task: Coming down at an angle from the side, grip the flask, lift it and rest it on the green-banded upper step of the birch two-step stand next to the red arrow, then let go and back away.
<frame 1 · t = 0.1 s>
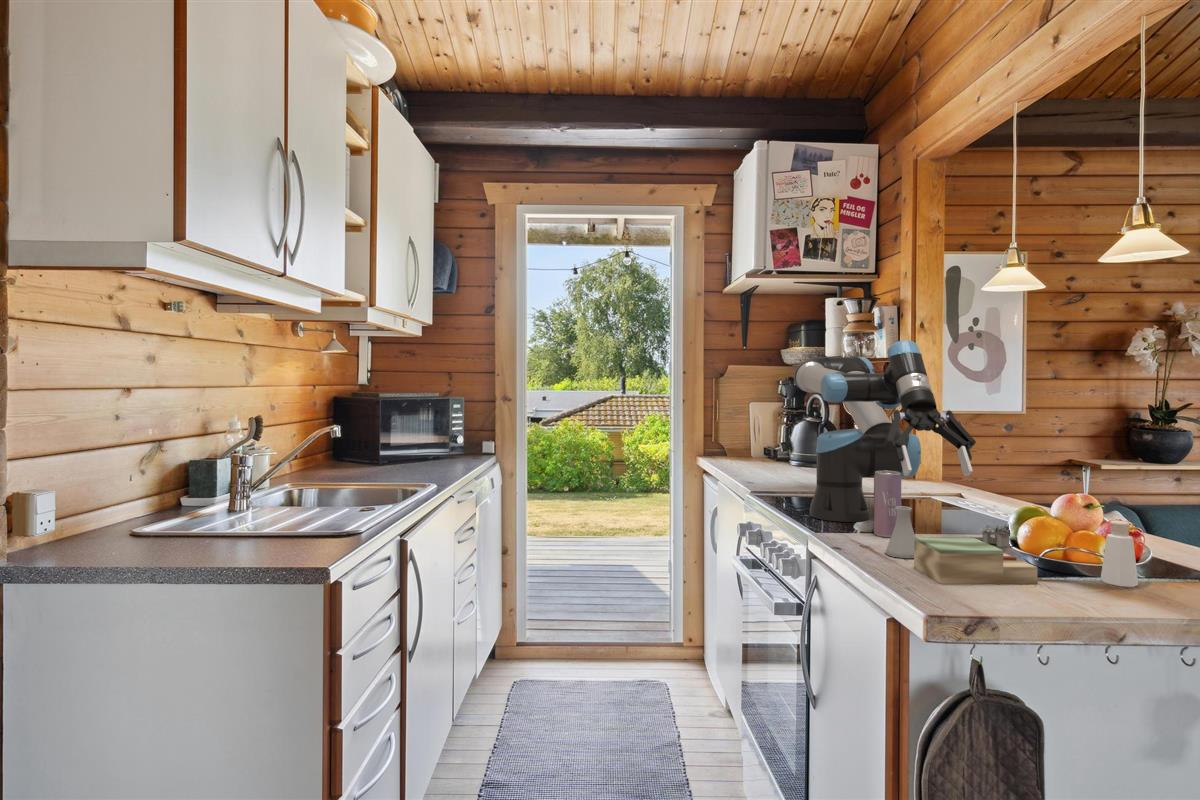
hand: (938, 473, 157), 15 cm above the countertop, tool tilted 35°, fingers open, 13 cm apart
flask: (903, 556, 145), on the countertop
egg carton: (1007, 544, 156), on the countertop
salt shaker 2: (1119, 584, 124), on the countertop
beverage can: (887, 536, 164), on the countertop
stand: (973, 575, 129), on the countertop
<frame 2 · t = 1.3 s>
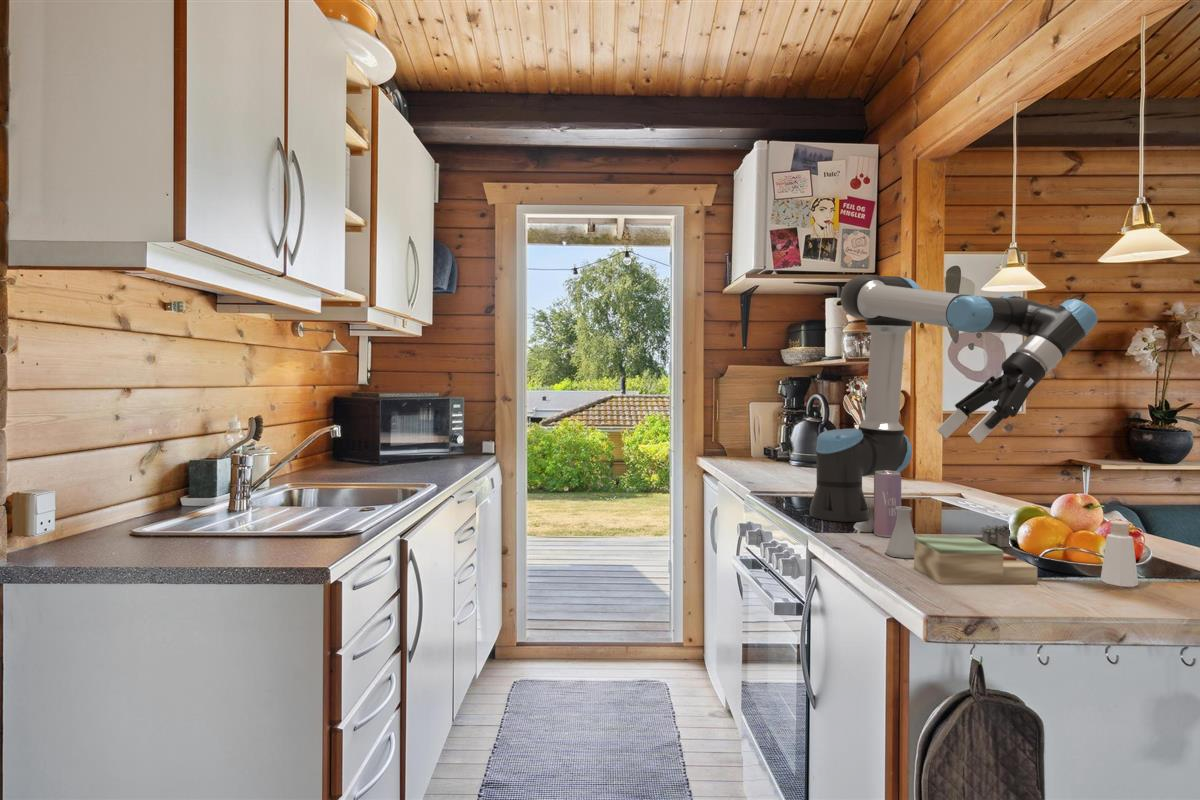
hand: (956, 436, 144), 25 cm above the countertop, tool tilted 45°, fingers open, 13 cm apart
nothing on the countertop moved.
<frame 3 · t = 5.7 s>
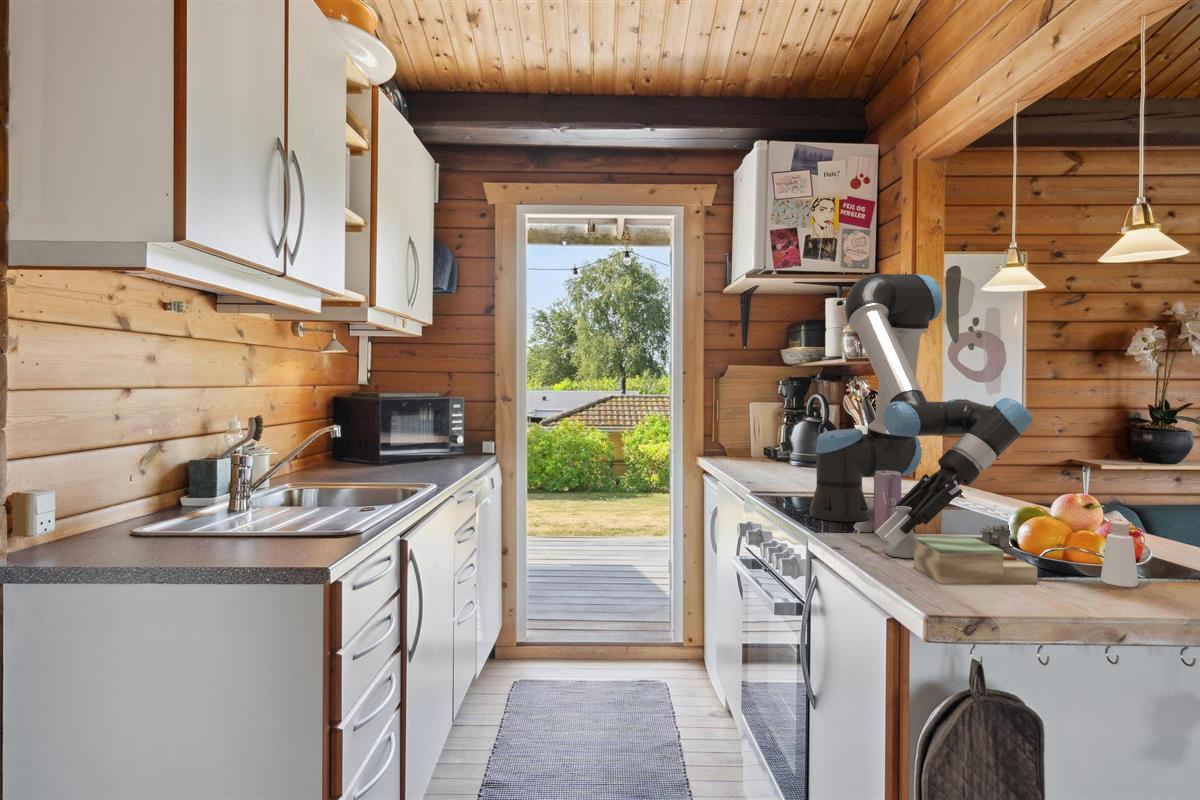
hand: (884, 539, 145), 3 cm above the countertop, tool tilted 45°, fingers closed on flask, 4 cm apart
flask: (903, 556, 145), on the countertop, touching gripper
everything else where it was.
when the fingers open (11 cm above the countertop, at t = 9.3 s): flask drops 1 cm, resting on stand.
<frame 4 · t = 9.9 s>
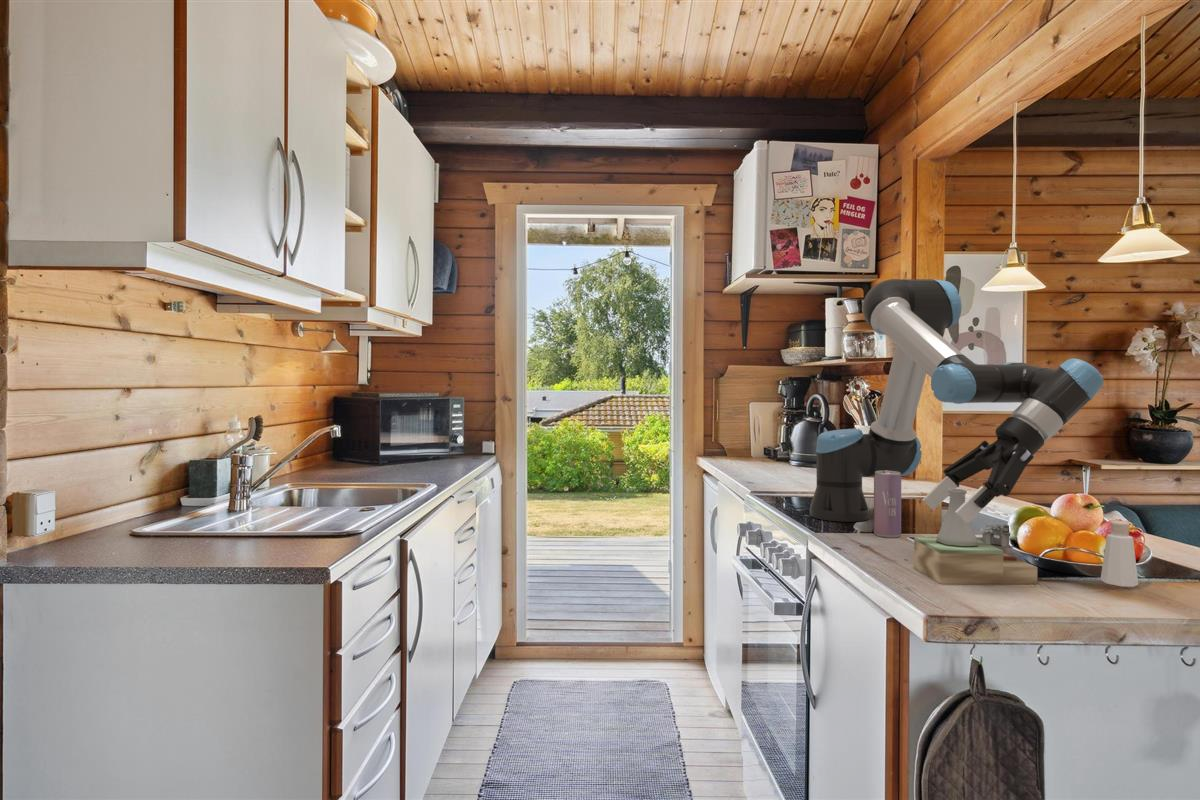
hand: (943, 510, 129), 12 cm above the countertop, tool tilted 45°, fingers open, 12 cm apart
flask: (957, 544, 129), point 6 cm above the countertop, touching stand
everything else where it was.
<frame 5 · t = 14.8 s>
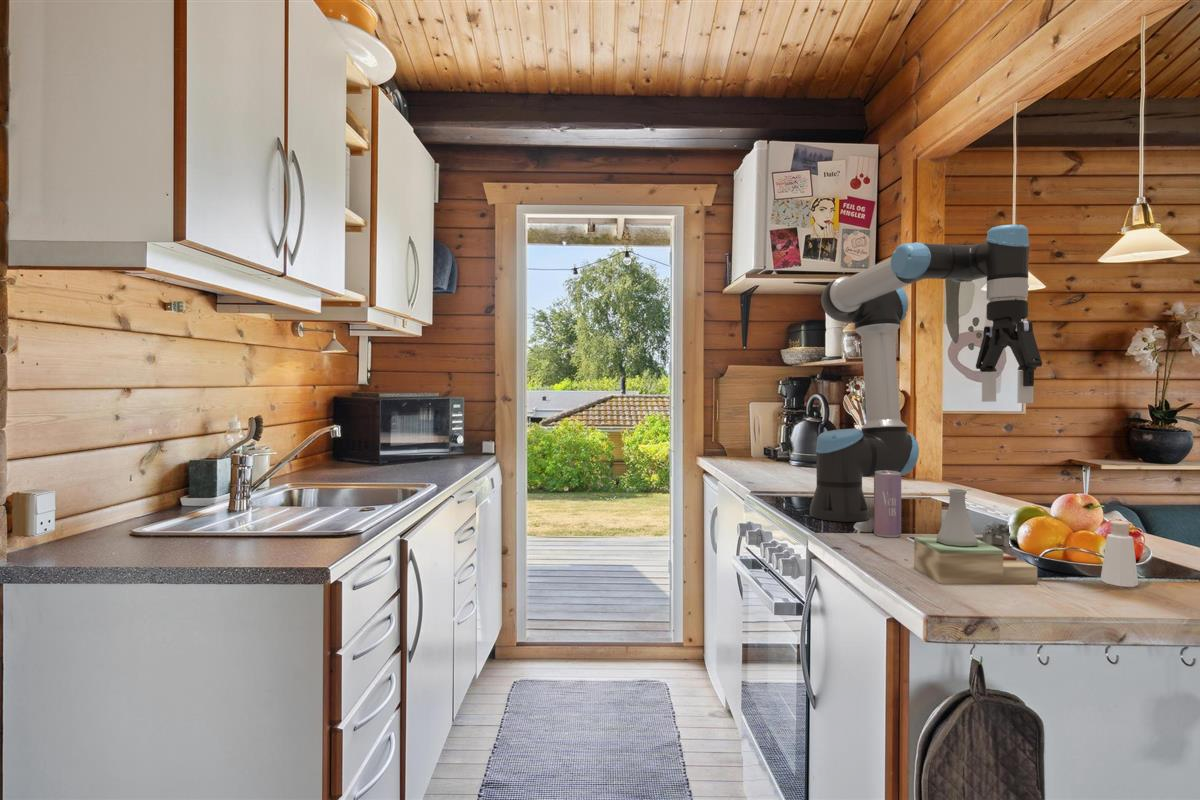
hand: (1006, 402, 145), 32 cm above the countertop, tool pointing down, fingers open, 13 cm apart
at the end: flask inside the target area (0.1 cm from its centre), point 5.8 cm above the countertop; flask tilted 0°; the gripper is holding nothing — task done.
